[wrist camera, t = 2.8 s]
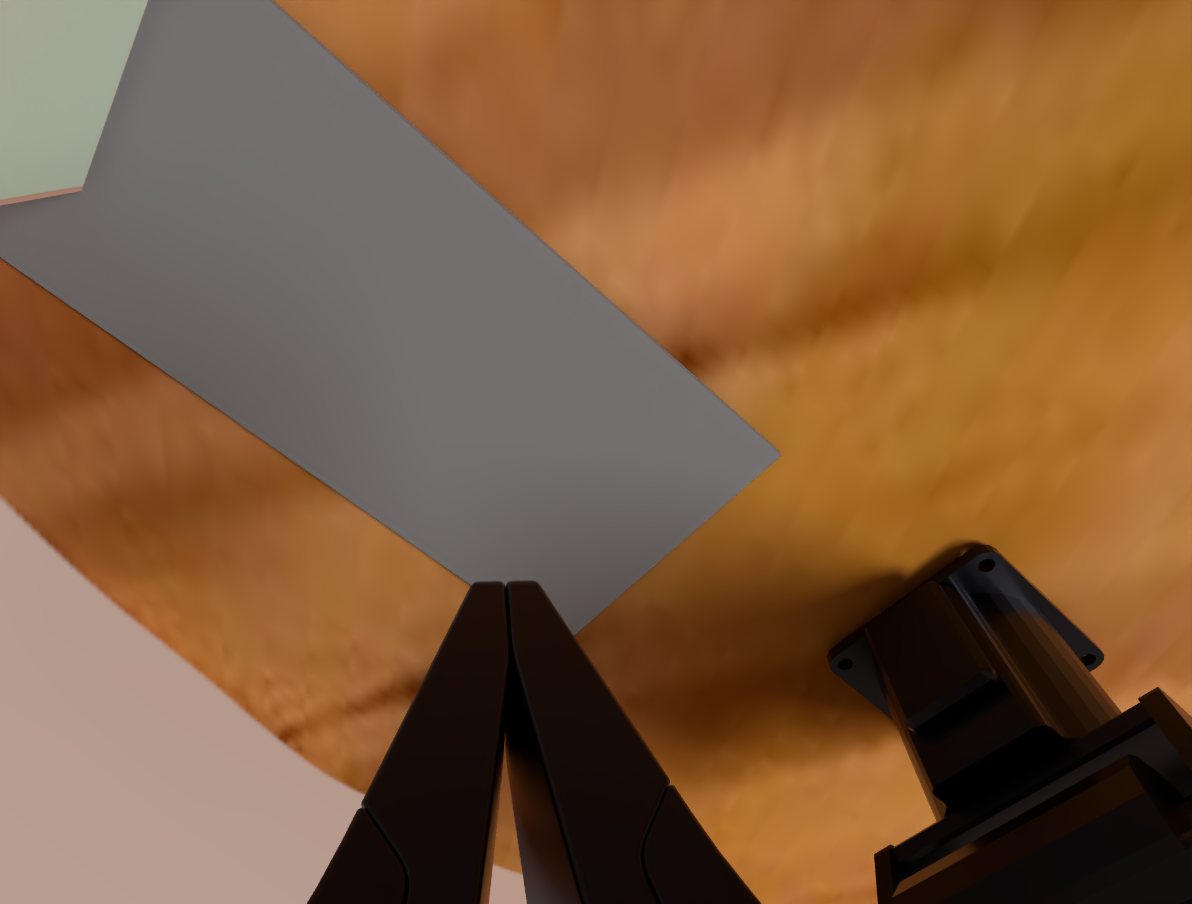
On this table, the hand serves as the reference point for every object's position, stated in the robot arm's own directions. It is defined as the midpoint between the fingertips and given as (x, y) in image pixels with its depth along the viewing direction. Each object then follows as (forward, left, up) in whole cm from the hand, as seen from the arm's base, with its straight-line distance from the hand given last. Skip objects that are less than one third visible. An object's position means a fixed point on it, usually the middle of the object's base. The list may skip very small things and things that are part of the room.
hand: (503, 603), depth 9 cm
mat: (+7, +3, -12) cm, 14 cm away
